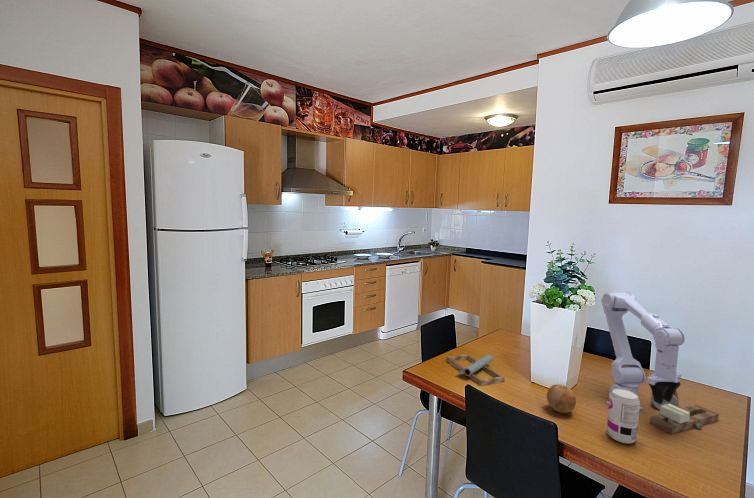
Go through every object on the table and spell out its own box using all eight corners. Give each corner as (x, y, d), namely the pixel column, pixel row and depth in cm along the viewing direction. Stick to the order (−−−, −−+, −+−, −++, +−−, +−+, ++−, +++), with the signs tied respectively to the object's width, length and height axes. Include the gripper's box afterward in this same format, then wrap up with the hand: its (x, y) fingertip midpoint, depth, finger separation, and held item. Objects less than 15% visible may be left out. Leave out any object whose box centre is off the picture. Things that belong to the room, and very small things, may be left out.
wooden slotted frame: (675, 436, 122) (676, 429, 122) (645, 421, 131) (646, 414, 131) (722, 422, 131) (723, 416, 131) (691, 409, 140) (692, 403, 140)
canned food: (680, 400, 143) (682, 411, 134) (656, 401, 148) (656, 413, 139) (672, 380, 144) (673, 390, 136) (648, 382, 149) (648, 392, 140)
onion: (575, 408, 138) (577, 383, 137) (574, 421, 130) (576, 394, 129) (547, 401, 143) (549, 377, 142) (544, 413, 135) (546, 387, 134)
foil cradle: (480, 385, 155) (480, 381, 155) (446, 361, 181) (446, 357, 181) (504, 381, 159) (504, 377, 159) (467, 358, 185) (467, 354, 185)
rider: (679, 430, 125) (681, 414, 124) (658, 420, 131) (660, 405, 130) (688, 427, 127) (690, 411, 126) (668, 417, 133) (669, 402, 132)
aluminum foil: (470, 377, 159) (471, 369, 158) (456, 372, 163) (457, 365, 163) (492, 362, 176) (493, 355, 175) (479, 358, 180) (480, 351, 180)
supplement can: (603, 436, 121) (607, 393, 120) (610, 427, 127) (613, 385, 125) (633, 448, 115) (637, 402, 114) (638, 437, 121) (642, 393, 120)
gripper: (664, 370, 118) (660, 410, 119) (693, 365, 123) (688, 403, 124) (642, 362, 124) (638, 400, 126) (670, 357, 129) (666, 394, 131)
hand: (662, 401), depth 125 cm, fingers open, 4 cm apart
